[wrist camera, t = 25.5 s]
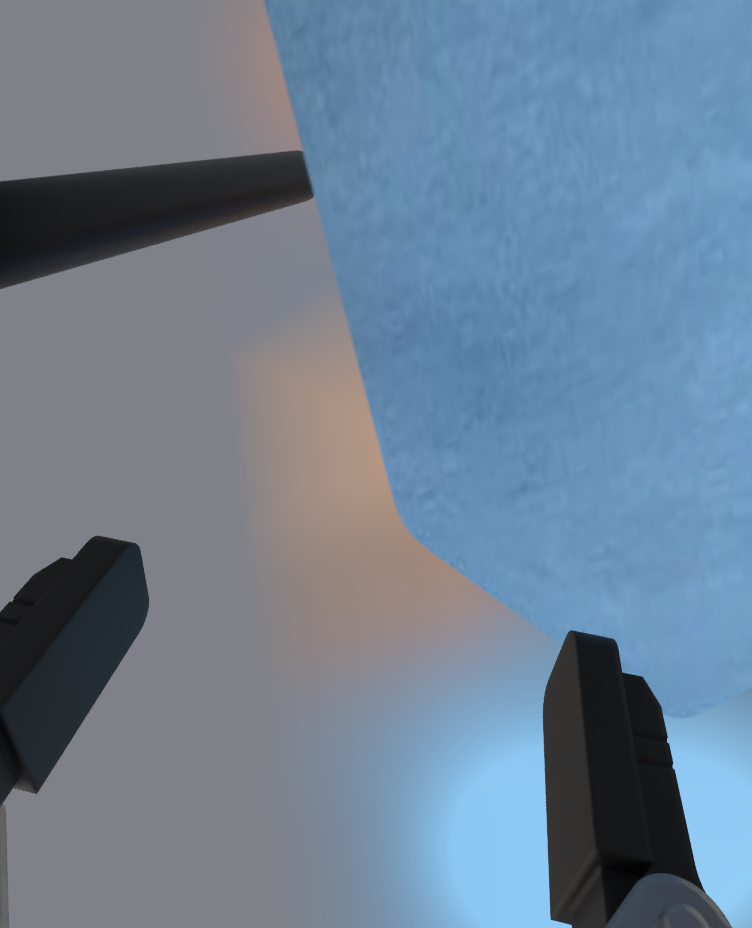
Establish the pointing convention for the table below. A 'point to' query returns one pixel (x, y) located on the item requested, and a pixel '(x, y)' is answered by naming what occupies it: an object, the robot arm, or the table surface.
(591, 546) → the table surface
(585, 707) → the robot arm
